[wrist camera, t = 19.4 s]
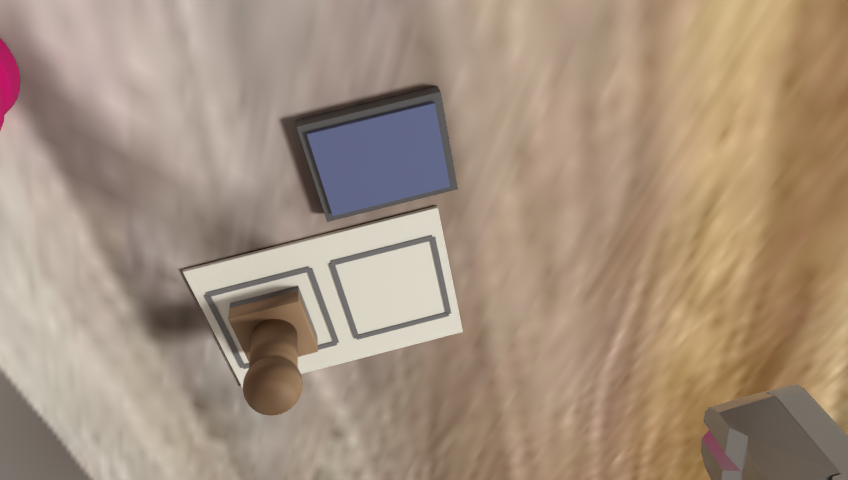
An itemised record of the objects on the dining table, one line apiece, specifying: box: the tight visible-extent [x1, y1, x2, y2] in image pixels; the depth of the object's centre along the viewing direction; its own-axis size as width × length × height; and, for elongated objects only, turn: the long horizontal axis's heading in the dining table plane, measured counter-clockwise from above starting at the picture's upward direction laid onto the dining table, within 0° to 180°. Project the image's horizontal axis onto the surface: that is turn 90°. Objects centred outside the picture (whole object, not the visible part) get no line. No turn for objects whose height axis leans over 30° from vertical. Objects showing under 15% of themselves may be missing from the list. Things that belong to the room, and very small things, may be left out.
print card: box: [183, 206, 463, 388], centre depth 47 cm, size 18×12×1 cm, turn 101°
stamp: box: [228, 286, 318, 415], centre depth 43 cm, size 5×5×8 cm
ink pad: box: [296, 86, 458, 222], centre depth 41 cm, size 9×7×1 cm
